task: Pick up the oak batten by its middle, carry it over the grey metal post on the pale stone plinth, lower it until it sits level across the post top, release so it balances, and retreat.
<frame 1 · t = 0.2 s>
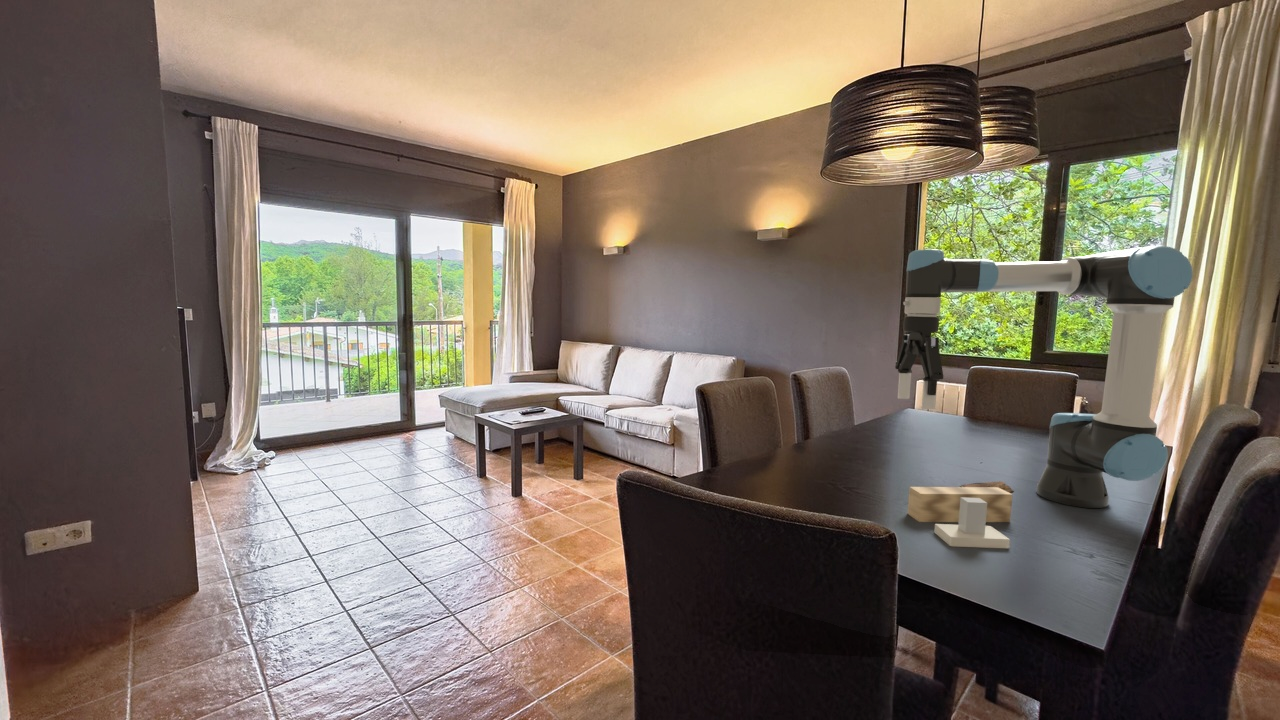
hand: (915, 403, 132), 27 cm above the table, fingers open, 13 cm apart
wooden fragment: (985, 492, 151), on the table
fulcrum: (970, 540, 118), on the table
batten: (958, 518, 131), on the table
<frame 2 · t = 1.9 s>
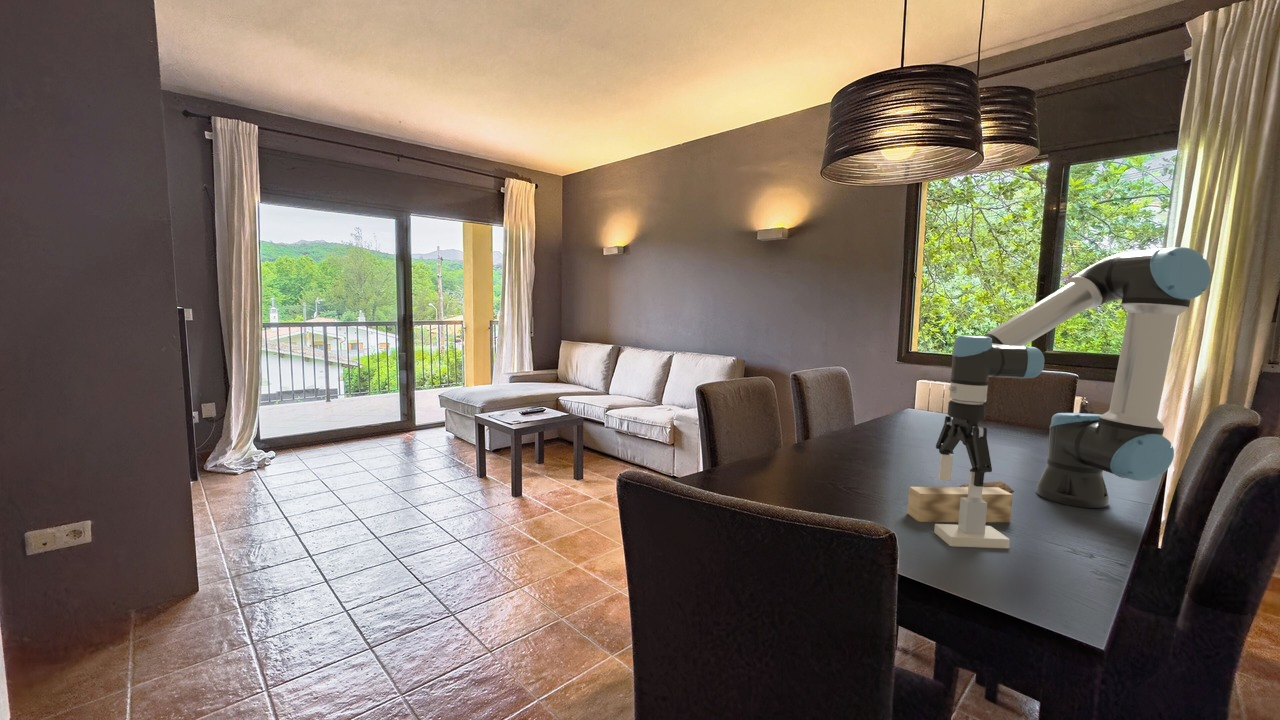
hand: (958, 489, 130), 7 cm above the table, fingers open, 13 cm apart
nothing on the table moved.
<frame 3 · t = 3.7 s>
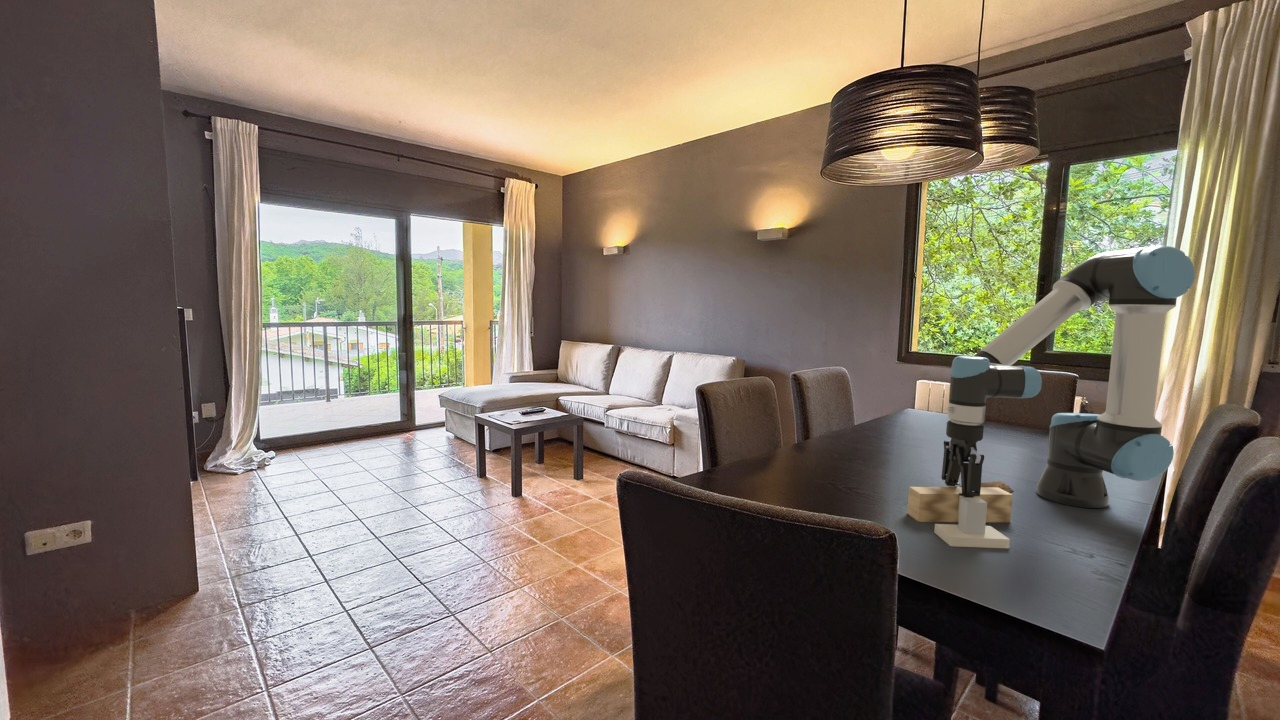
hand: (957, 516, 131), 0 cm above the table, fingers open, 5 cm apart
batten: (957, 518, 131), on the table, touching gripper
everything else where it was.
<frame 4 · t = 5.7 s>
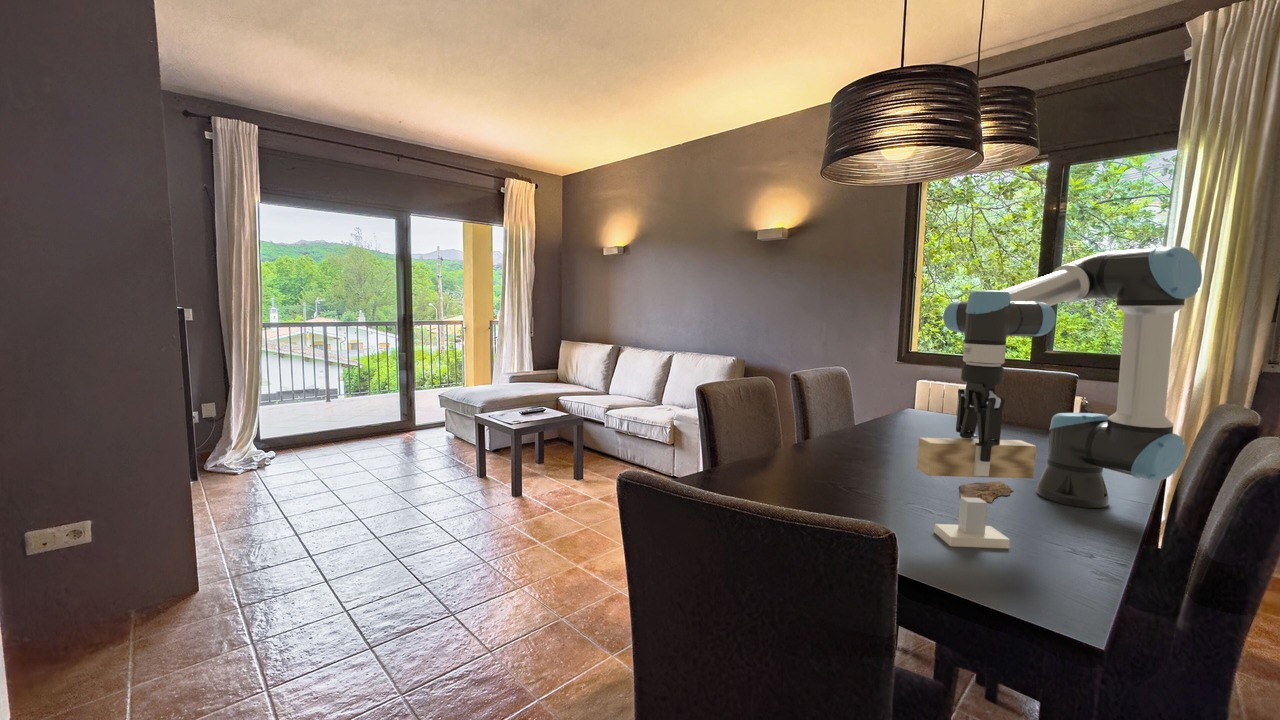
hand: (973, 471, 117), 15 cm above the table, fingers closed on batten, 5 cm apart
batten: (973, 473, 118), point 15 cm above the table, touching gripper
everything else where it was.
when the fingers open (10 cm above the table, at t = 7.3 s): batten stays where it is, resting on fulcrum.
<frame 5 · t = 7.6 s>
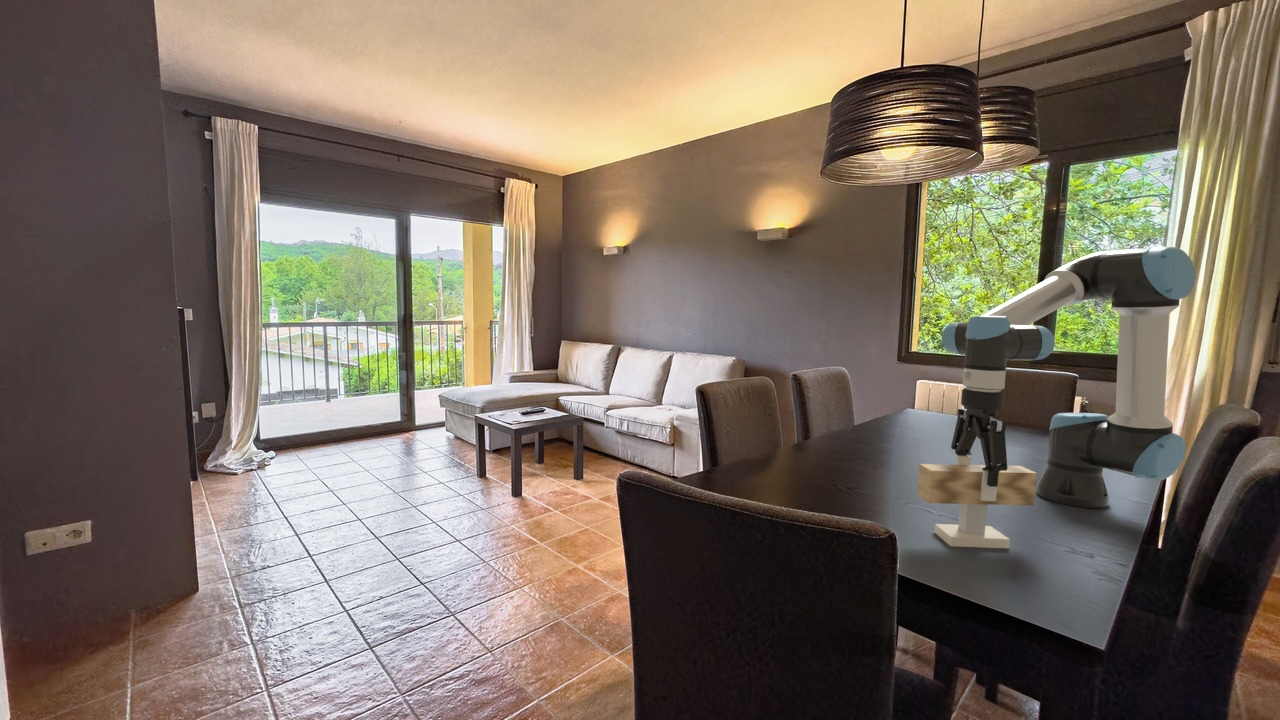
hand: (974, 492, 117), 11 cm above the table, fingers open, 9 cm apart
batten: (974, 500, 117), point 9 cm above the table, touching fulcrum
everything else where it was.
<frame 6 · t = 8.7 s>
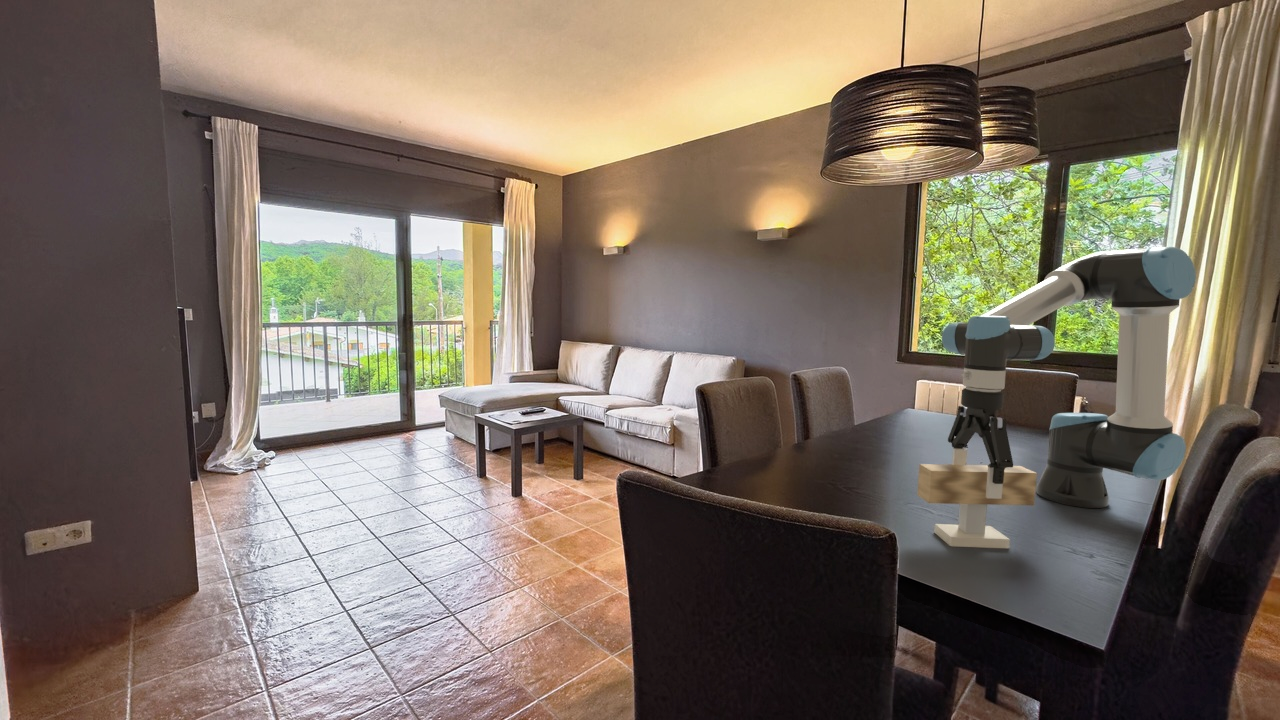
hand: (974, 486, 117), 12 cm above the table, fingers open, 13 cm apart
nothing on the table moved.
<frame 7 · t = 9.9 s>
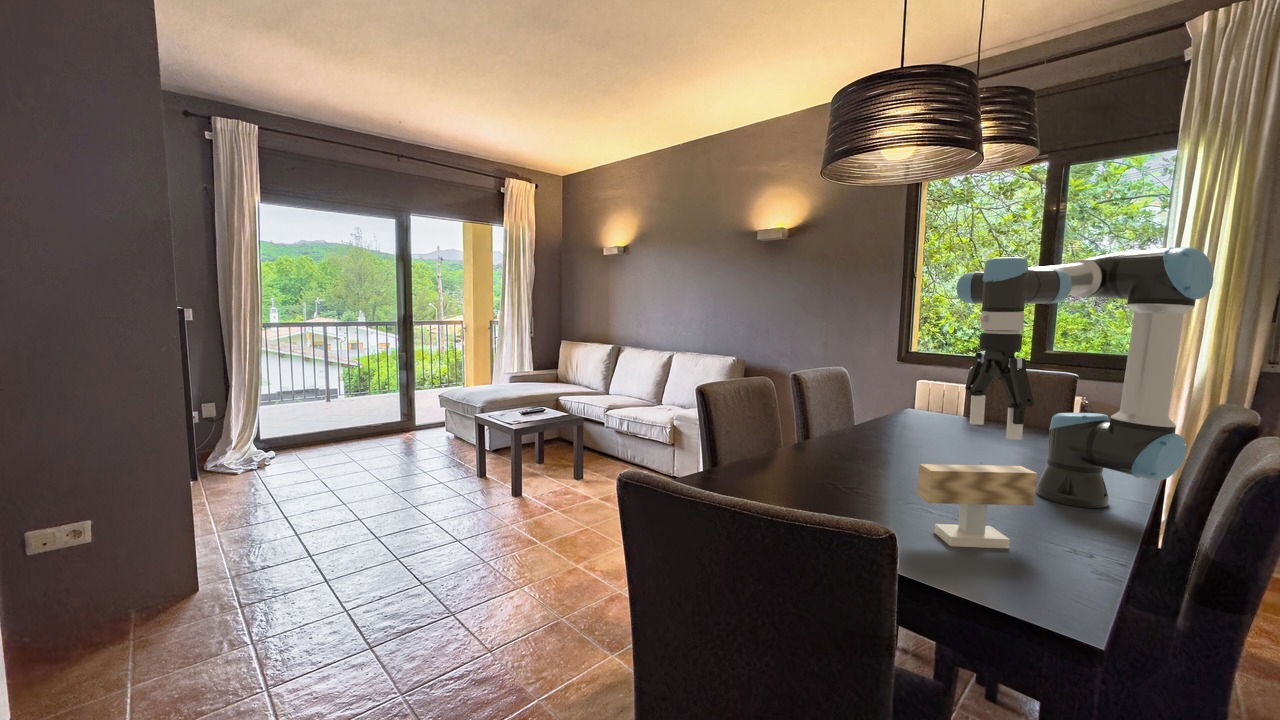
hand: (994, 431, 117), 24 cm above the table, fingers open, 13 cm apart
nothing on the table moved.
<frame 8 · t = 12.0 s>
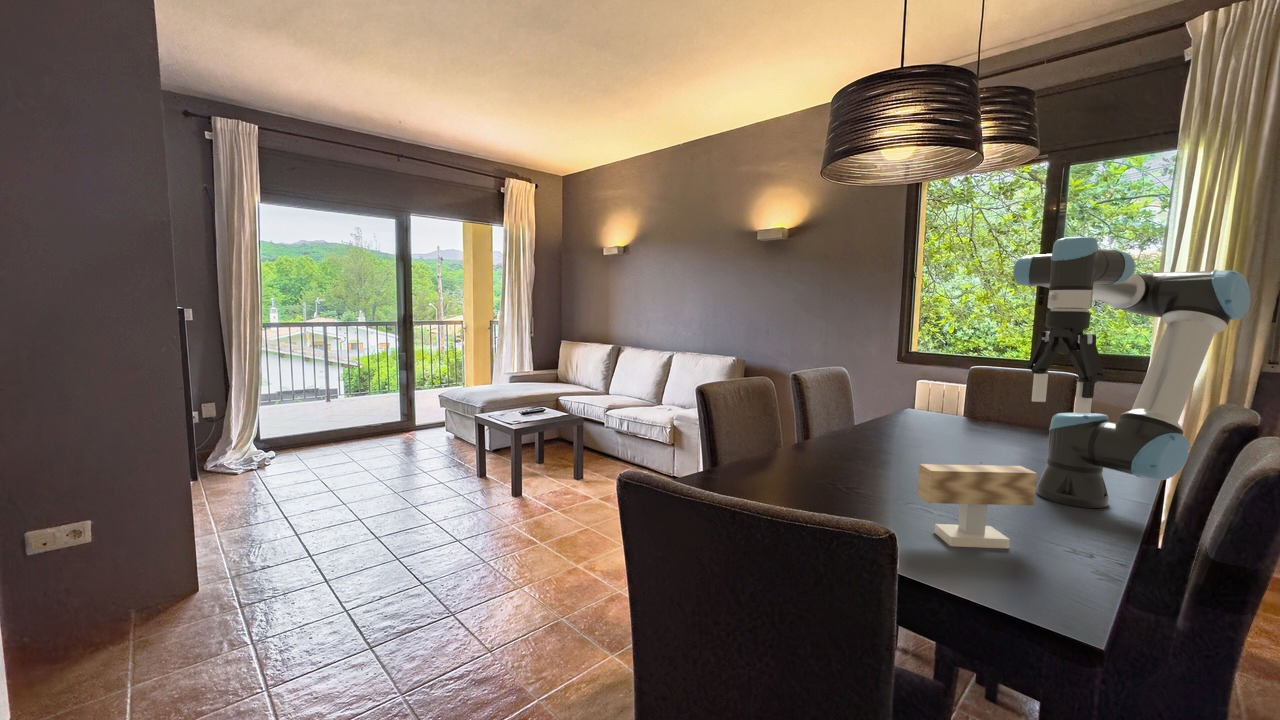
hand: (1059, 407, 120), 29 cm above the table, fingers open, 13 cm apart
nothing on the table moved.
at the end: batten 0.1 cm off-centre on the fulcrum, point 9.0 cm above the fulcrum's base; batten tilted 0°; batten touching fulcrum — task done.
